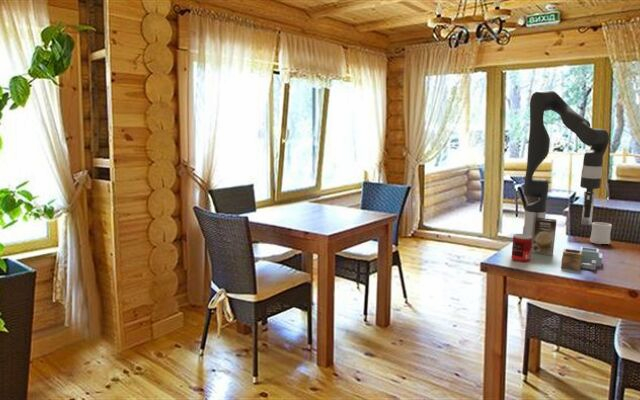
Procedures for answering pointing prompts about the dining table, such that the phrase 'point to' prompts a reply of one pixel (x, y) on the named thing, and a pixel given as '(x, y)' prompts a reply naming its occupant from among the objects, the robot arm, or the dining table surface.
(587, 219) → the peg
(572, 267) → the socket block
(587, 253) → the block
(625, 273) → the dining table surface
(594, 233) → the mug
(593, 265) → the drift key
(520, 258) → the canned food
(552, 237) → the coffee box
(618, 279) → the dining table surface
